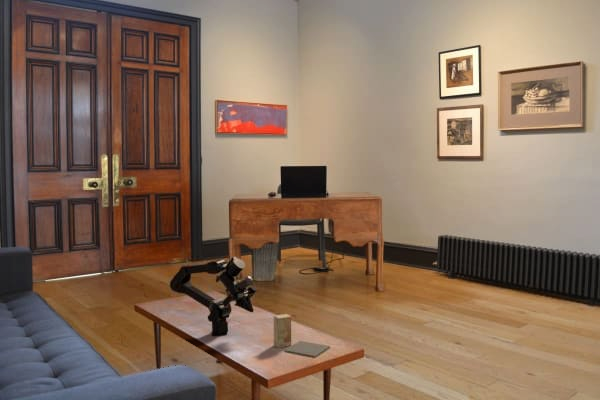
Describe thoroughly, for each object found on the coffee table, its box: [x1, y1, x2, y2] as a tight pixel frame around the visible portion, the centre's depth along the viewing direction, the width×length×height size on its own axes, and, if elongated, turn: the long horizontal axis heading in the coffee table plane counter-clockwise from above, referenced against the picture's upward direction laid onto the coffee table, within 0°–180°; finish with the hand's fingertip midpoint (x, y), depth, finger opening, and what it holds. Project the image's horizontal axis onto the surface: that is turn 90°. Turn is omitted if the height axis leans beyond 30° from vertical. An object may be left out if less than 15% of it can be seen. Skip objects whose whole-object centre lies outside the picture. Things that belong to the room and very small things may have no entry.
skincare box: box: [273, 313, 292, 349], centre depth 222 cm, size 6×4×12 cm
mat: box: [284, 340, 331, 358], centre depth 217 cm, size 14×12×1 cm
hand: (252, 311), depth 230 cm, fingers closed
